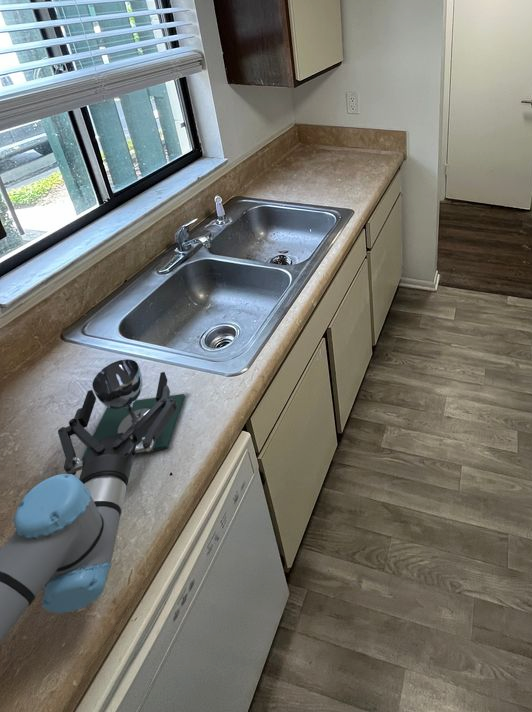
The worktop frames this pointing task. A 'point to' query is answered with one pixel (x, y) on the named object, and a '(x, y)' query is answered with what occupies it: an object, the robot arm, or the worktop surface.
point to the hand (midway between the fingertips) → (128, 385)
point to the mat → (116, 416)
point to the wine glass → (121, 390)
